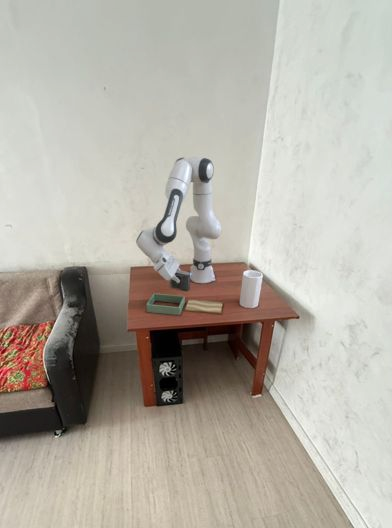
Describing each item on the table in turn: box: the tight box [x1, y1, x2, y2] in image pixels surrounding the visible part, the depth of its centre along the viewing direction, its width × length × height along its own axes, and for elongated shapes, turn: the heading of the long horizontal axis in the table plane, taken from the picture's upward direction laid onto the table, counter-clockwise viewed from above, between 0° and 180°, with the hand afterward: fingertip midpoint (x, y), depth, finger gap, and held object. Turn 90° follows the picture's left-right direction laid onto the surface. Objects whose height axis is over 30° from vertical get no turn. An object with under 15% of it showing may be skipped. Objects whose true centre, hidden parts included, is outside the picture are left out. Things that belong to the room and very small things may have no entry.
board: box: [184, 299, 224, 315], centre depth 166 cm, size 12×20×1 cm, turn 81°
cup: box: [239, 269, 264, 309], centre depth 165 cm, size 11×11×18 cm
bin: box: [145, 292, 186, 316], centre depth 164 cm, size 14×18×4 cm
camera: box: [168, 269, 191, 292], centre depth 156 cm, size 11×6×10 cm, turn 64°
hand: (180, 278), depth 155 cm, fingers closed on camera, 6 cm apart
